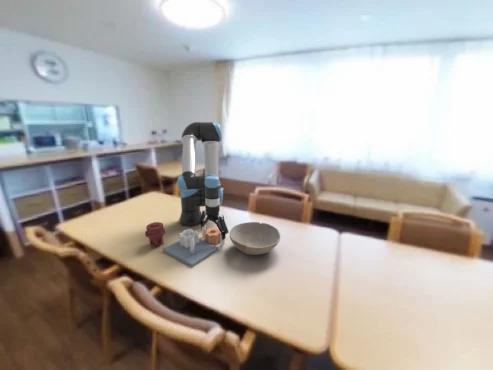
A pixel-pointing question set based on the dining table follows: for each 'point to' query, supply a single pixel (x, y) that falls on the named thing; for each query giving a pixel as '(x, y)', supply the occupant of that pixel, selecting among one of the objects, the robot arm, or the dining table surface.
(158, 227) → the mechanical component
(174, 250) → the gear board
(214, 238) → the terracotta gear
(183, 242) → the white gear
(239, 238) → the bowl
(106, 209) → the dining table surface
